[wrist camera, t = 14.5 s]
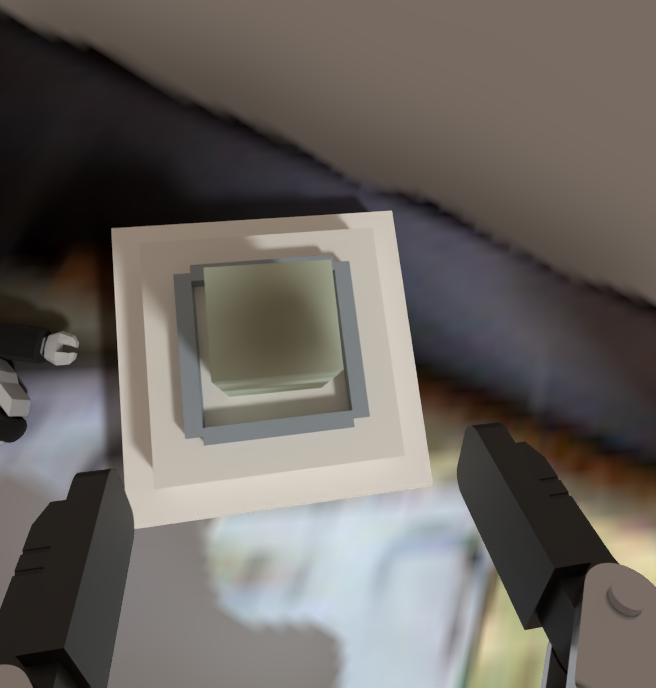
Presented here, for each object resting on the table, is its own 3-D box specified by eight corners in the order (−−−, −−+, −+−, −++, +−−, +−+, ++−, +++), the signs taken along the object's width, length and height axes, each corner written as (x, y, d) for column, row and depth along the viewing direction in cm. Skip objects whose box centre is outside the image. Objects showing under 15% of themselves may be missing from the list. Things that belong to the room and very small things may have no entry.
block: (312, 309, 25) (331, 259, 18) (321, 388, 24) (343, 369, 17) (223, 316, 24) (203, 267, 17) (229, 397, 24) (211, 382, 16)
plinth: (382, 227, 32) (408, 181, 26) (419, 481, 29) (457, 494, 23) (124, 245, 29) (88, 199, 23) (139, 520, 27) (103, 546, 21)
